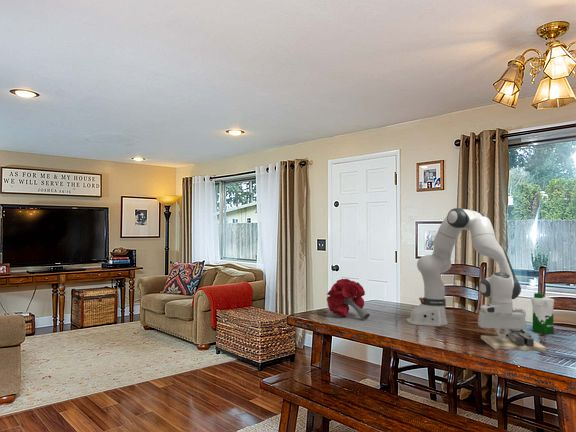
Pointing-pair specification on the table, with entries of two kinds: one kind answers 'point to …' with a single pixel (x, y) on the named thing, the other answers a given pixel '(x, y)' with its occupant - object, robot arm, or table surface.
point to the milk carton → (542, 314)
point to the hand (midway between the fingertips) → (501, 338)
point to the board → (510, 344)
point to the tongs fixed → (527, 339)
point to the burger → (521, 332)
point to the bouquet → (346, 298)
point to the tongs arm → (516, 339)
